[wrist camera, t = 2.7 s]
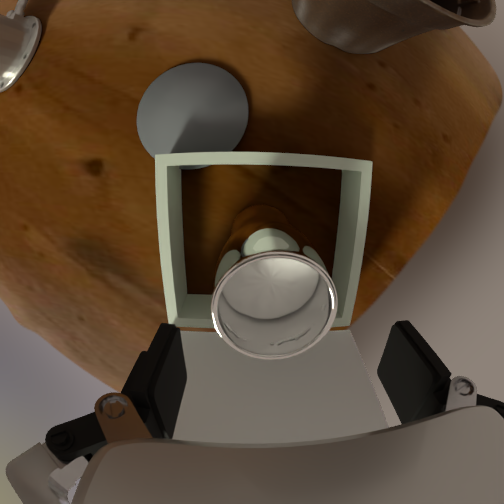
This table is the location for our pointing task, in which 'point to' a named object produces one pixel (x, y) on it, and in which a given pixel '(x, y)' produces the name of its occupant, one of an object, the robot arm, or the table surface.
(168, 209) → the frame
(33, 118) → the table surface
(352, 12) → the plant pot
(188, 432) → the lid
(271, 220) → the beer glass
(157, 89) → the grey round coaster
